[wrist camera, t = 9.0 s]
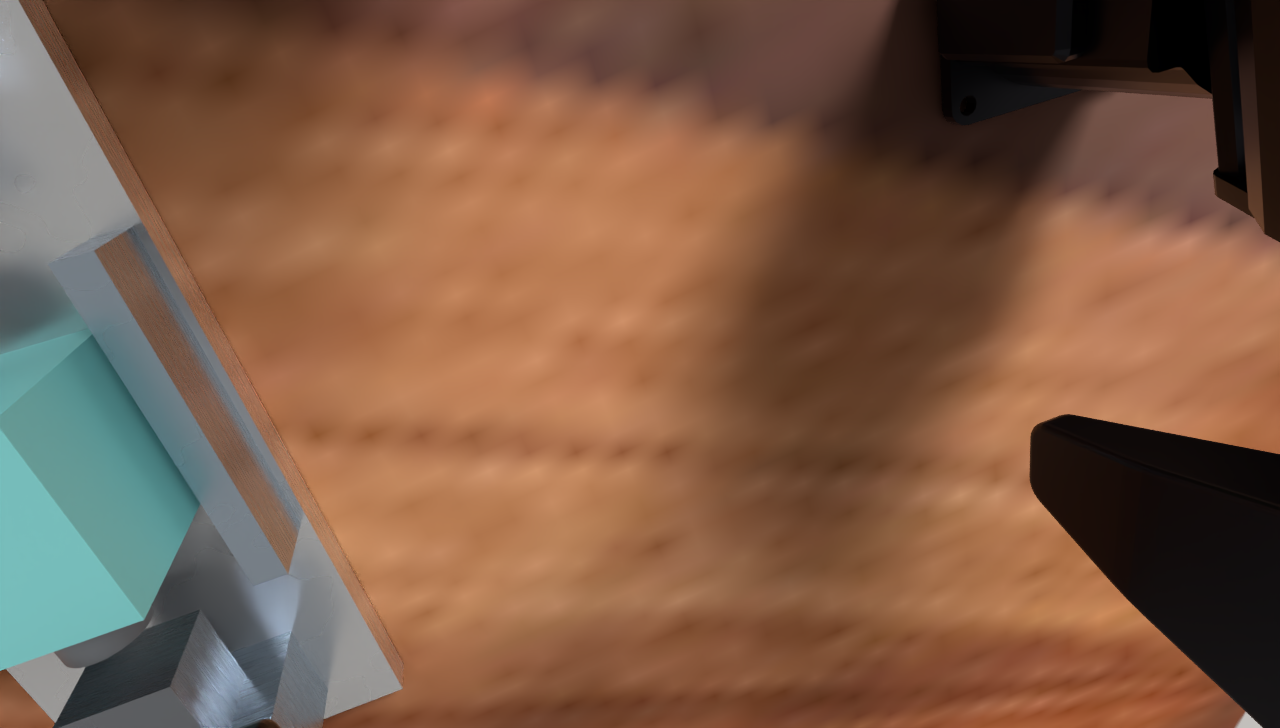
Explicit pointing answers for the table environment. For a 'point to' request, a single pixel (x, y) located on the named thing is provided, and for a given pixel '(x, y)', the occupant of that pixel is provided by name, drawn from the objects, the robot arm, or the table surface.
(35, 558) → the coupler
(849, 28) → the table surface
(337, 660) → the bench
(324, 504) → the table surface
